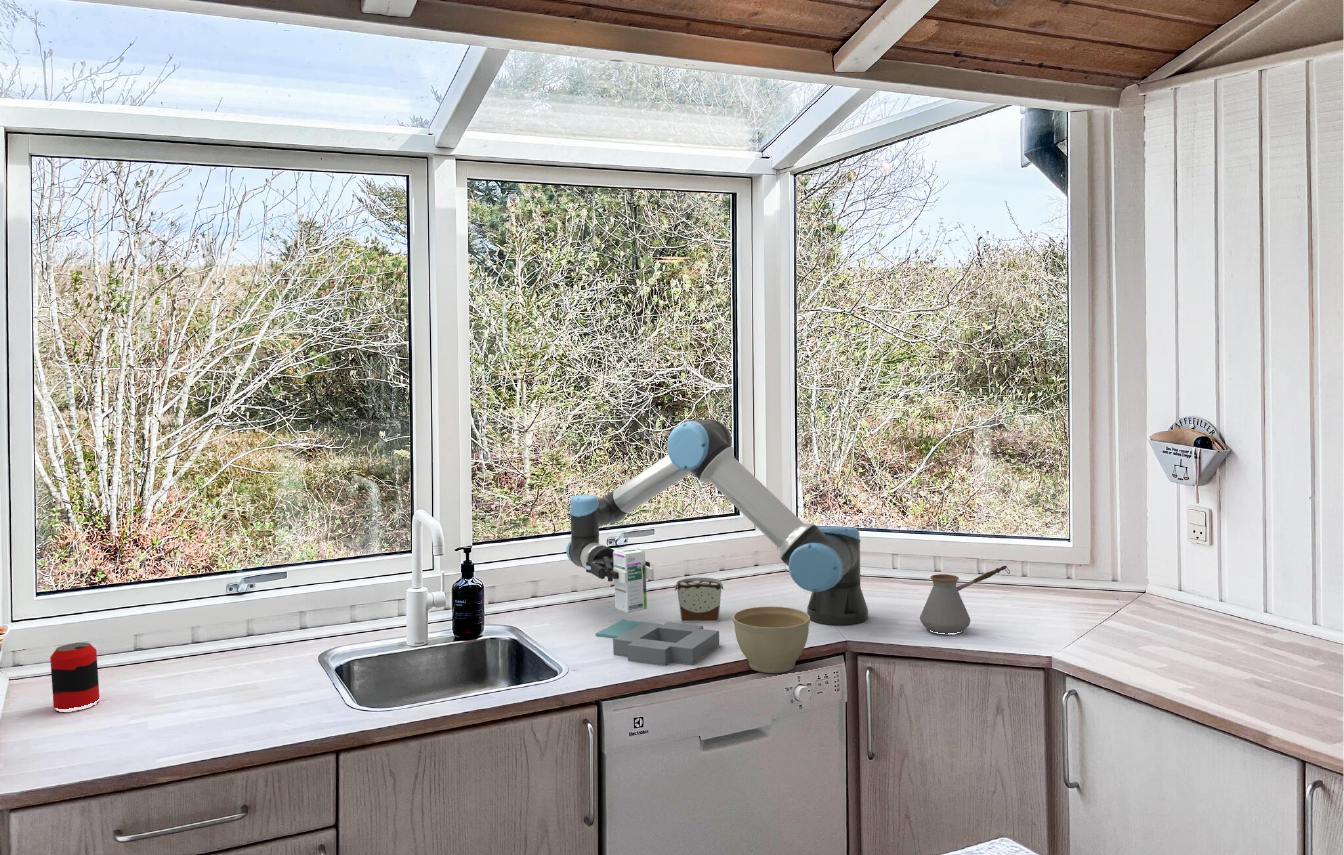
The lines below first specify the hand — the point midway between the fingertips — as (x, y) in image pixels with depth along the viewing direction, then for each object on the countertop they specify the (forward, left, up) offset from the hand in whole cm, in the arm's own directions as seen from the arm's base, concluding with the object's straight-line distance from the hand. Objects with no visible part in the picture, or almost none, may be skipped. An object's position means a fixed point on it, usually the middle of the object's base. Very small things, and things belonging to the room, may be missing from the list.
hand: (639, 576), depth 212 cm
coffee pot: (-70, -33, -15) cm, 78 cm away
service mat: (+4, -3, -15) cm, 15 cm away
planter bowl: (-37, +9, -15) cm, 41 cm away
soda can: (+82, +82, -15) cm, 117 cm away
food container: (-7, -20, -15) cm, 25 cm away
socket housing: (-11, +7, -15) cm, 19 cm away
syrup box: (+4, -3, -9) cm, 11 cm away
